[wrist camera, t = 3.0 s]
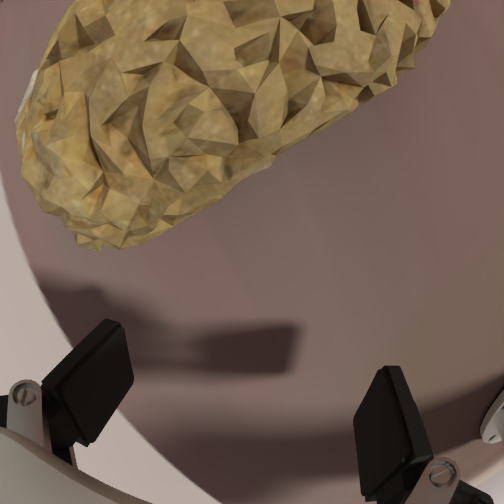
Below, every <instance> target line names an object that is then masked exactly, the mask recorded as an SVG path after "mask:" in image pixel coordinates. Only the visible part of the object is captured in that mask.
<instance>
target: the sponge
mask: <svg viewBox="0 0 504 504" xmlns="http://www.w3.org/2000/svg"><path fill="white" fill-rule="evenodd" d="M449 6H450V0H76V1H75V2H74V3H73V4H72V5H71V6H70V7H69V8H68V9H67V10H66V11H65V12H64V14H63V16H62V18H61V20H60V22H59V24H58V26H57V27H56V29H55V31H54V33H53V34H52V36H51V38H50V40H49V42H48V44H47V47H46V49H45V52H44V55H43V57H42V60H41V63H40V66H39V69H37V70H35V71H34V72H33V74H32V77H31V80H30V82H29V85H28V88H27V91H26V93H25V95H24V98H23V100H22V102H21V105H20V107H19V111H18V114H17V117H16V120H15V123H14V124H15V128H16V142H17V146H18V149H19V153H20V156H21V158H22V168H21V176H22V177H23V179H24V181H25V182H26V184H27V185H28V187H29V188H30V190H31V191H32V193H33V195H34V197H35V199H36V201H37V202H38V204H39V206H40V208H41V210H42V212H43V213H44V214H51V215H58V216H61V217H62V220H63V223H64V226H65V228H66V229H69V230H71V231H72V233H73V235H74V237H75V240H76V243H77V245H79V246H82V247H85V248H88V249H91V250H95V251H98V252H101V247H102V244H103V245H106V246H109V247H112V248H115V249H123V248H128V247H132V246H136V245H139V244H142V243H144V242H147V241H150V240H152V239H154V238H155V237H157V236H159V235H160V234H162V233H164V232H165V231H167V230H169V229H170V228H172V227H174V226H175V225H177V224H179V223H181V222H182V221H184V220H186V219H188V218H189V217H191V216H193V215H194V214H196V213H198V212H199V211H201V210H203V209H204V208H206V207H208V206H209V205H211V204H213V203H215V202H216V201H219V200H221V198H222V197H224V196H225V195H226V194H227V193H228V192H229V191H230V190H231V189H232V188H233V187H234V186H235V185H236V184H237V183H239V182H240V181H242V180H243V179H245V178H246V177H248V176H250V175H253V174H255V173H257V172H259V171H261V170H263V169H266V168H268V167H270V166H271V164H272V162H273V160H274V158H275V157H276V156H277V155H278V154H280V153H281V152H283V151H285V150H287V149H288V148H290V147H292V146H293V145H295V144H297V143H299V142H300V141H302V140H304V139H306V138H307V137H309V136H311V135H313V134H315V133H317V132H319V131H321V130H323V129H324V128H326V127H328V126H330V125H332V124H333V123H335V122H336V121H338V120H339V119H341V118H343V117H344V116H346V115H347V114H349V113H351V112H352V111H353V110H354V109H355V108H356V107H357V106H358V105H360V104H362V103H365V102H367V101H369V100H371V99H372V98H374V97H375V96H377V95H379V94H380V93H382V92H383V91H385V90H387V89H389V88H391V87H393V86H394V85H396V84H397V78H396V76H398V75H400V74H402V73H404V72H406V71H408V70H410V69H415V68H416V67H415V60H414V53H416V52H418V51H419V50H421V49H422V48H424V47H426V46H427V44H428V42H429V40H430V38H431V36H432V34H433V32H434V30H435V27H436V26H437V25H438V22H439V17H440V16H441V15H442V14H443V13H444V12H445V11H446V10H447V9H448V7H449Z"/></svg>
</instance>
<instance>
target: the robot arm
mask: <svg viewBox="0 0 504 504" xmlns="http://www.w3.org/2000/svg"><path fill="white" fill-rule="evenodd" d="M133 382H134V375H133V371H132V366H131V362H130V357H129V352H128V347H127V342H126V336H125V331H124V328H123V327H121V324H120V323H119V322H116V321H113V320H110V319H105V320H103V321H102V322H101V323H100V324H99V325H98V326H97V327H96V328H95V329H94V330H93V331H92V332H90V333H89V334H88V335H87V336H86V337H85V338H84V339H83V340H82V341H81V342H80V343H79V344H78V345H77V346H76V347H75V348H74V349H73V350H72V351H71V352H70V353H69V354H68V355H67V356H66V357H65V358H64V359H63V360H62V361H61V362H60V363H59V364H58V365H57V366H56V367H55V368H54V369H53V370H52V371H51V372H50V373H49V374H48V375H47V376H46V377H45V378H44V379H43V380H42V385H41V386H39V384H37V383H36V382H35V381H32V380H21V381H19V382H17V383H15V384H14V385H13V386H12V388H11V389H10V392H9V395H5V396H4V395H3V396H0V504H152V503H149V502H147V501H144V500H141V499H139V498H136V497H134V496H131V495H129V494H127V493H124V492H122V491H120V490H118V489H115V488H113V487H111V486H109V485H107V484H105V483H103V482H101V481H99V480H97V479H95V478H93V477H91V476H89V475H88V474H86V473H84V472H82V471H80V470H79V469H78V467H77V463H76V459H75V454H74V449H73V444H74V443H75V442H78V443H80V444H82V445H84V446H85V447H88V445H89V444H90V443H93V442H95V441H96V439H97V437H98V436H99V434H100V433H101V431H102V430H103V428H104V427H105V425H106V424H107V422H108V420H109V419H110V417H111V416H112V415H113V413H114V411H115V410H116V409H117V407H118V405H119V404H120V402H121V401H122V399H123V398H124V396H125V395H126V393H127V392H128V391H129V389H130V388H131V386H132V384H133ZM353 426H354V433H355V441H356V449H357V457H358V467H359V477H360V488H361V494H362V496H365V501H366V502H370V501H377V504H494V503H493V499H492V498H491V496H489V495H488V494H487V493H484V492H482V491H480V490H478V489H476V488H475V487H473V486H471V485H469V484H467V483H465V482H463V481H461V480H459V479H460V470H459V467H458V465H457V464H456V463H455V461H453V460H452V459H450V458H447V457H438V458H435V459H434V457H433V454H432V450H431V447H430V444H429V441H428V438H427V434H426V431H425V428H424V426H423V423H422V420H421V417H420V414H419V411H418V408H417V406H416V404H415V402H414V400H413V398H412V395H411V392H410V390H409V387H408V385H407V382H406V380H405V377H404V375H403V372H402V370H401V368H400V366H384V367H383V368H382V369H379V370H378V371H377V373H376V375H375V377H374V379H373V381H372V383H371V385H370V387H369V389H368V391H367V393H366V395H365V397H364V399H363V401H362V403H361V404H360V406H359V408H358V410H357V412H356V413H355V415H354V419H353ZM480 434H481V436H482V439H483V441H484V442H485V443H495V442H498V441H501V440H502V441H503V444H504V389H503V390H502V392H501V393H500V395H499V396H498V397H497V399H496V400H495V401H494V403H493V404H492V406H491V407H490V409H489V410H488V412H487V414H486V416H485V418H484V419H483V422H482V425H481V427H480Z"/></svg>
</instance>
